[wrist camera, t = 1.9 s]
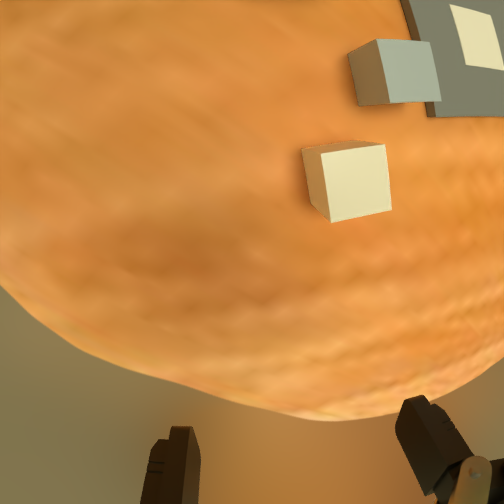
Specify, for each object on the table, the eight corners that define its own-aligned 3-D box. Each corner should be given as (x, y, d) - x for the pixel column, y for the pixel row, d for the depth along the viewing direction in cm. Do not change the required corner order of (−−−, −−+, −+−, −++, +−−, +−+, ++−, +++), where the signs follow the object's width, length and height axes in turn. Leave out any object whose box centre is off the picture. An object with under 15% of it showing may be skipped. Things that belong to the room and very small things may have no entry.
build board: (384, -41, 18) (391, -47, 17) (495, -11, 18) (502, -13, 16) (427, 116, 25) (436, 117, 23) (525, 116, 25) (534, 118, 23)
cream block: (300, 148, 26) (320, 153, 20) (354, 139, 26) (384, 144, 20) (310, 203, 28) (331, 222, 22) (361, 193, 28) (391, 209, 22)
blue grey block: (347, 54, 23) (376, 38, 17) (394, 53, 23) (429, 41, 17) (358, 106, 25) (390, 103, 19) (404, 103, 25) (441, 101, 19)
